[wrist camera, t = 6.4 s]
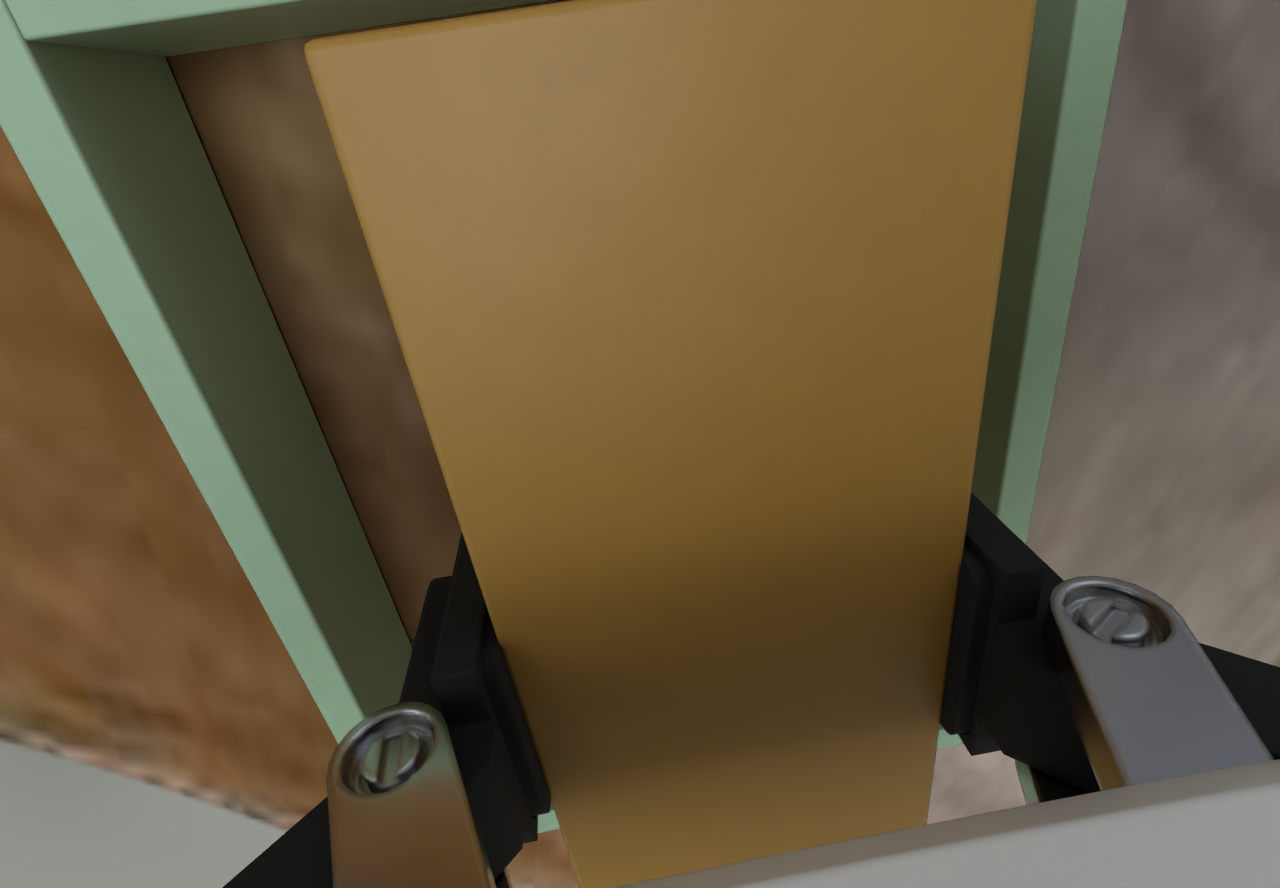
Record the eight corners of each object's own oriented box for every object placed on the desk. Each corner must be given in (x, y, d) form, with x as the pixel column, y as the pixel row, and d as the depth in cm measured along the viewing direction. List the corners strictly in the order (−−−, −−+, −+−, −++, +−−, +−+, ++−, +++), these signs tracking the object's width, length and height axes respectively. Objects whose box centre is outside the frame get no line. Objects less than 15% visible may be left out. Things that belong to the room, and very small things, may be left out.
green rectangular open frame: (1001, -121, 11) (1167, -203, 8) (923, 642, 20) (990, 739, 17) (94, 8, 11) (-87, -29, 8) (424, 743, 20) (402, 862, 17)
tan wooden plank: (832, 1, 9) (1052, -74, 5) (826, 734, 16) (913, 939, 12) (413, 64, 8) (295, 39, 5) (600, 777, 16) (615, 1000, 12)
